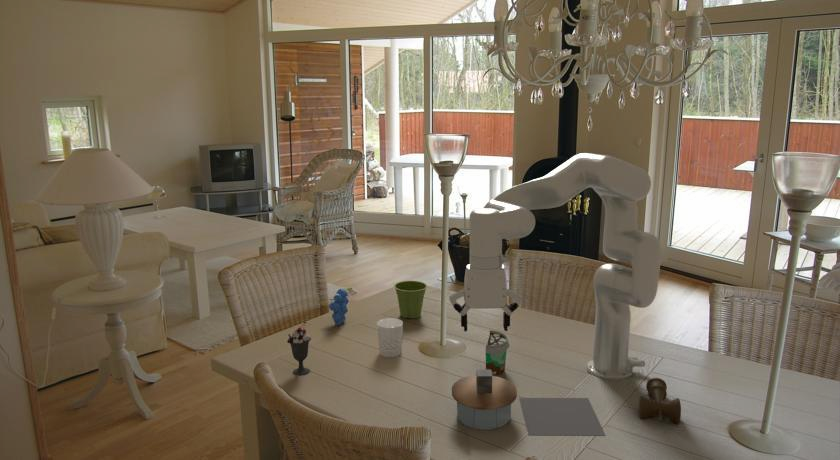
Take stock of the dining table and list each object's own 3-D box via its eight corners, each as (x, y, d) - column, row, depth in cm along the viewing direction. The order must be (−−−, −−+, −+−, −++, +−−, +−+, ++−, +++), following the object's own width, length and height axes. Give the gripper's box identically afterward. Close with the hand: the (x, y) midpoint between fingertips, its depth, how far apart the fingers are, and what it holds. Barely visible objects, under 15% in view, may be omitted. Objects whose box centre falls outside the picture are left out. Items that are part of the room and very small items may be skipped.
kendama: (675, 398, 169) (682, 435, 150) (636, 394, 172) (639, 430, 153) (676, 376, 168) (683, 412, 149) (637, 373, 171) (640, 407, 152)
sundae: (317, 369, 187) (314, 320, 183) (304, 378, 181) (301, 329, 177) (298, 365, 189) (295, 317, 186) (285, 374, 183) (281, 325, 180)
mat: (587, 399, 167) (588, 397, 167) (605, 437, 150) (605, 435, 150) (519, 399, 168) (519, 397, 168) (528, 437, 150) (528, 435, 150)
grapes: (335, 315, 228) (333, 283, 226) (353, 317, 227) (351, 285, 224) (323, 327, 217) (321, 294, 215) (342, 329, 216) (340, 295, 213)
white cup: (373, 356, 195) (372, 325, 192) (384, 346, 202) (383, 316, 200) (397, 360, 192) (396, 329, 190) (407, 350, 199) (406, 319, 197)
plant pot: (415, 324, 220) (415, 293, 217) (387, 317, 226) (387, 287, 224) (433, 313, 230) (433, 283, 227) (406, 307, 236) (406, 278, 233)
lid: (512, 378, 165) (513, 358, 164) (520, 409, 150) (521, 388, 148) (450, 378, 166) (450, 358, 164) (452, 409, 150) (452, 388, 149)
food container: (507, 381, 178) (507, 347, 175) (485, 379, 179) (485, 346, 177) (510, 362, 190) (510, 330, 187) (489, 360, 191) (489, 329, 188)
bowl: (506, 404, 165) (507, 381, 164) (512, 431, 153) (513, 406, 151) (456, 403, 166) (456, 381, 164) (458, 430, 153) (458, 406, 152)
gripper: (520, 256, 153) (519, 322, 157) (448, 257, 154) (449, 323, 158) (524, 265, 146) (523, 335, 150) (449, 266, 146) (449, 335, 151)
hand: (485, 329), depth 154 cm, fingers open, 9 cm apart
